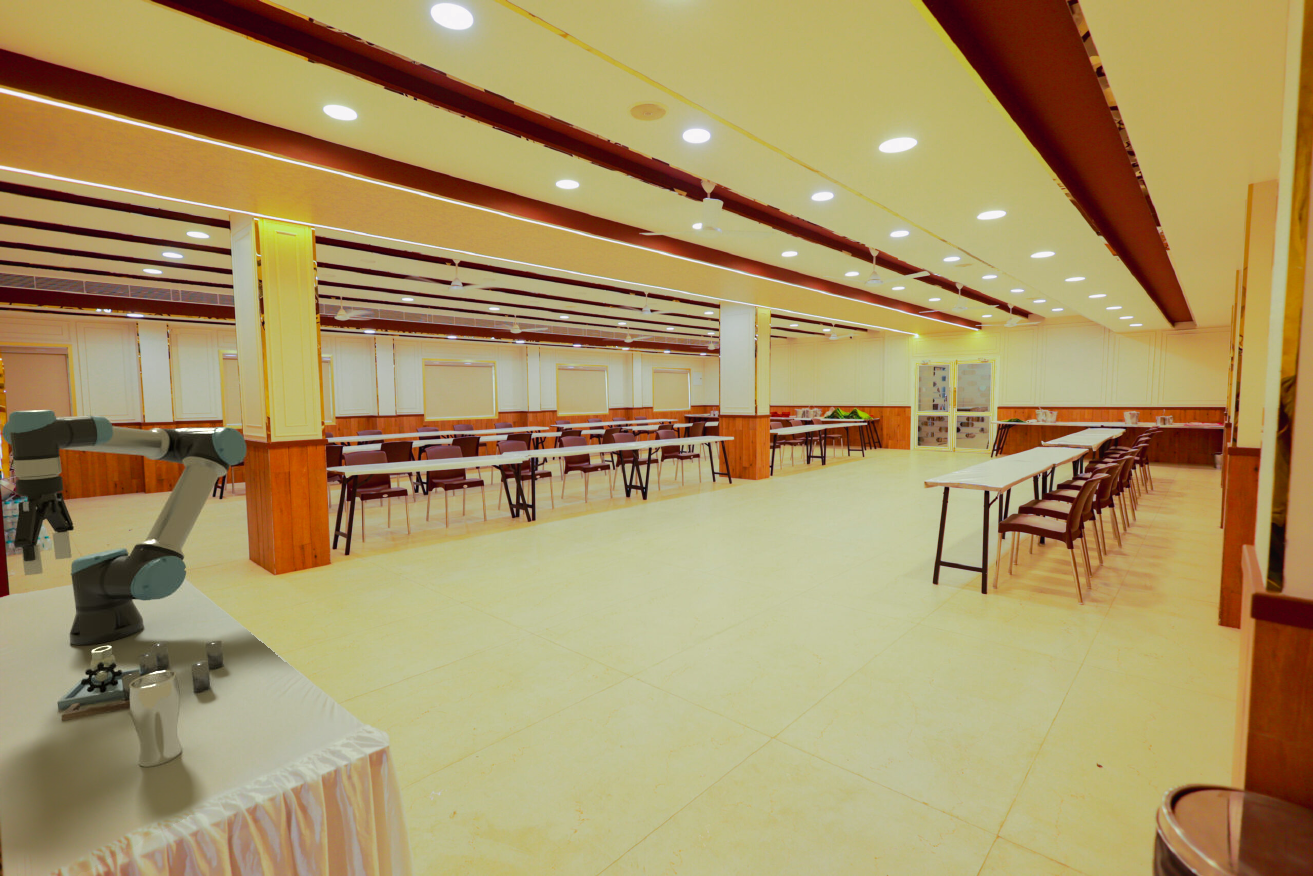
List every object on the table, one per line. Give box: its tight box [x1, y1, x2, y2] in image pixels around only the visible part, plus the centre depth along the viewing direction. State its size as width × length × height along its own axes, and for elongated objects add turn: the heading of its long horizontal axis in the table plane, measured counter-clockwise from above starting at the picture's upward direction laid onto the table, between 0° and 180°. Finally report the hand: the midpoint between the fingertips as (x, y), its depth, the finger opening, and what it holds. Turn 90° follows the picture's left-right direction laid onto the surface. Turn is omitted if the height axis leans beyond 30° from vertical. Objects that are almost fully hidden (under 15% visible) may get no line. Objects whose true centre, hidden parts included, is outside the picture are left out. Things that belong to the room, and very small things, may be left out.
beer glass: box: [129, 670, 183, 768], centre depth 109 cm, size 7×7×15 cm
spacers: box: [122, 639, 224, 701], centre depth 139 cm, size 20×16×6 cm
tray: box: [57, 667, 141, 711], centre depth 134 cm, size 12×12×2 cm
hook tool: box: [61, 700, 130, 721], centre depth 128 cm, size 5×14×1 cm, turn 114°
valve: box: [80, 645, 123, 693], centre depth 134 cm, size 7×7×12 cm
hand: (49, 566), depth 140 cm, fingers open, 13 cm apart
